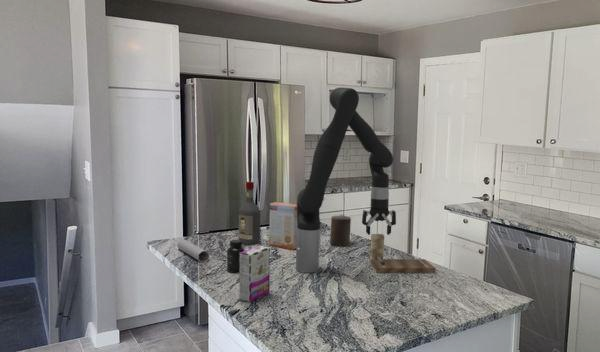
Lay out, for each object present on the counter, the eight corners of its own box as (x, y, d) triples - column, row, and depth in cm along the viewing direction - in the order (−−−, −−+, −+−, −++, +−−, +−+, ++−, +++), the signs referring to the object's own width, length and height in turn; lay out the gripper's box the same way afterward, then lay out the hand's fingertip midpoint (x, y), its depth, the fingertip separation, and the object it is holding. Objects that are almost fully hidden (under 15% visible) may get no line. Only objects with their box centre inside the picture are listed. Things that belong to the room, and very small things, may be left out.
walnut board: (377, 272, 187) (377, 267, 187) (370, 263, 199) (370, 259, 199) (435, 272, 189) (435, 267, 189) (425, 264, 201) (425, 259, 201)
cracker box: (299, 247, 222) (300, 204, 220) (292, 250, 217) (294, 206, 214) (275, 242, 229) (276, 201, 227) (268, 245, 224) (269, 202, 222)
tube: (174, 241, 213) (196, 254, 193) (184, 236, 216) (207, 248, 196) (177, 251, 215) (200, 265, 194) (188, 246, 217) (211, 259, 197)
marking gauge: (377, 270, 190) (378, 241, 189) (370, 260, 203) (371, 233, 201) (389, 270, 190) (390, 241, 189) (381, 260, 203) (382, 234, 202)
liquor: (248, 239, 235) (249, 180, 232) (262, 242, 230) (263, 182, 226) (235, 242, 228) (236, 182, 224) (249, 246, 222) (250, 184, 219)
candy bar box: (258, 290, 165) (259, 244, 163) (269, 293, 162) (270, 247, 160) (238, 299, 155) (238, 251, 153) (249, 303, 153) (250, 254, 151)
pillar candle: (340, 247, 223) (341, 217, 222) (325, 243, 231) (327, 213, 229) (353, 245, 230) (355, 215, 228) (339, 240, 237) (341, 212, 235)
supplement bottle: (223, 270, 186) (223, 240, 184) (236, 266, 191) (237, 237, 189) (234, 274, 181) (234, 244, 180) (247, 270, 186) (248, 241, 185)
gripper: (365, 198, 194) (363, 236, 195) (398, 198, 195) (397, 236, 196) (361, 195, 201) (360, 232, 203) (393, 195, 202) (392, 232, 204)
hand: (378, 234), depth 200 cm, fingers open, 8 cm apart
